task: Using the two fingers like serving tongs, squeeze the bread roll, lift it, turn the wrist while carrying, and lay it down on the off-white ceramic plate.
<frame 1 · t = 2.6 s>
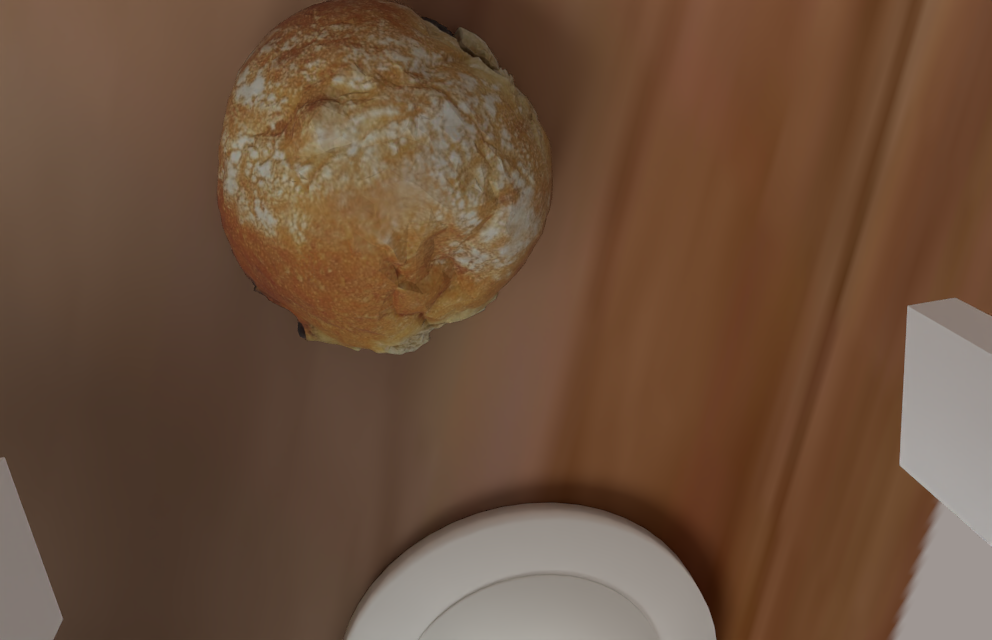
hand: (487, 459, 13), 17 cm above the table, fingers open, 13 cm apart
bread roll: (382, 175, 29), on the table
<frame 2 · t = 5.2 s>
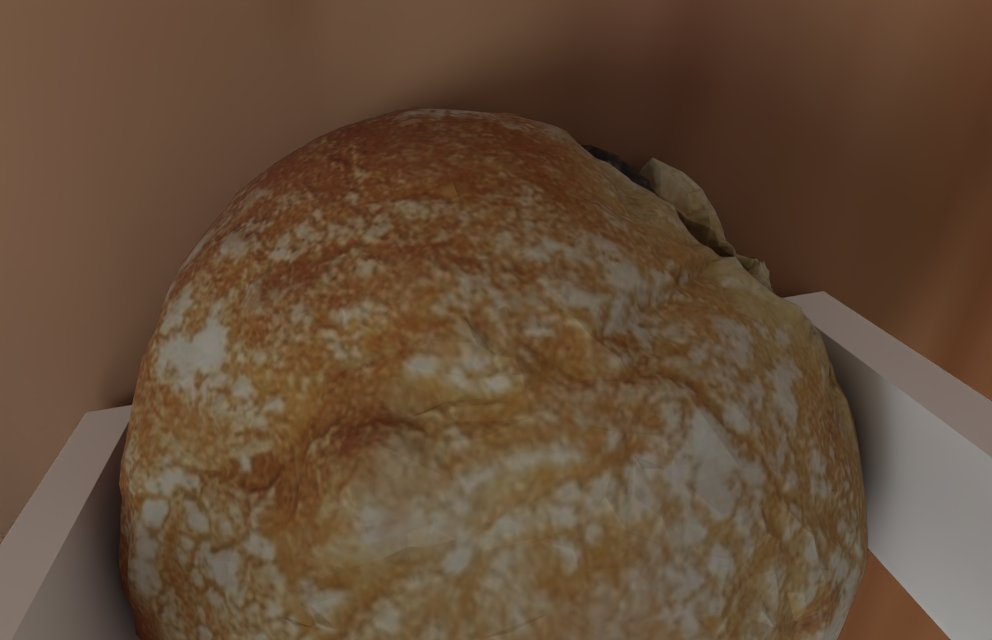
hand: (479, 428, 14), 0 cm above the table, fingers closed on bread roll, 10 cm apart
bread roll: (472, 432, 15), on the table, touching gripper
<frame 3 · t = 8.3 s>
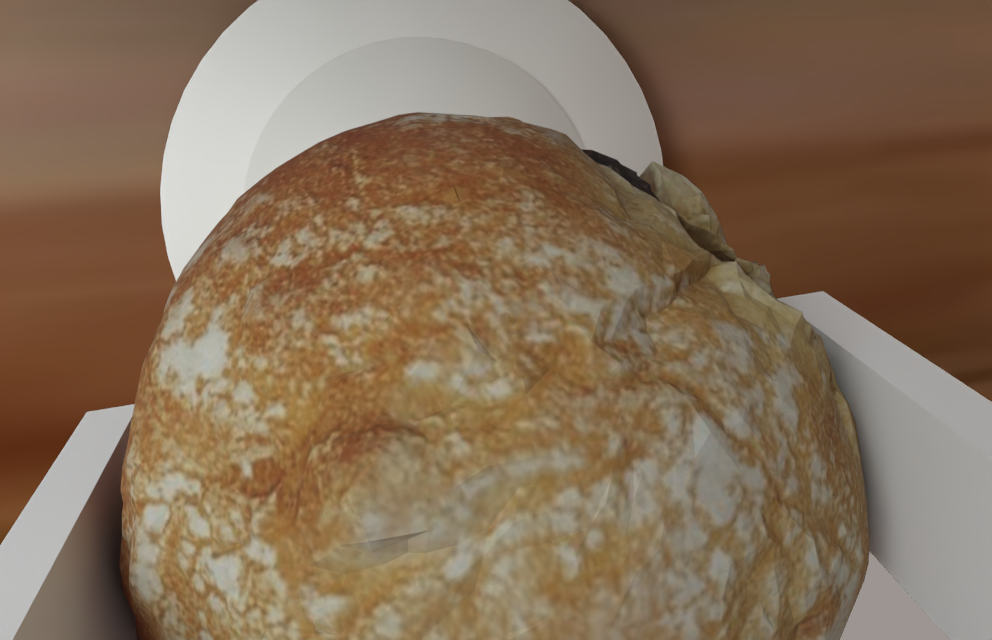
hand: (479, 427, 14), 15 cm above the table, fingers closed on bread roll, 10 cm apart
plate: (420, 209, 28), on the table
bread roll: (473, 436, 15), point 14 cm above the table, touching gripper
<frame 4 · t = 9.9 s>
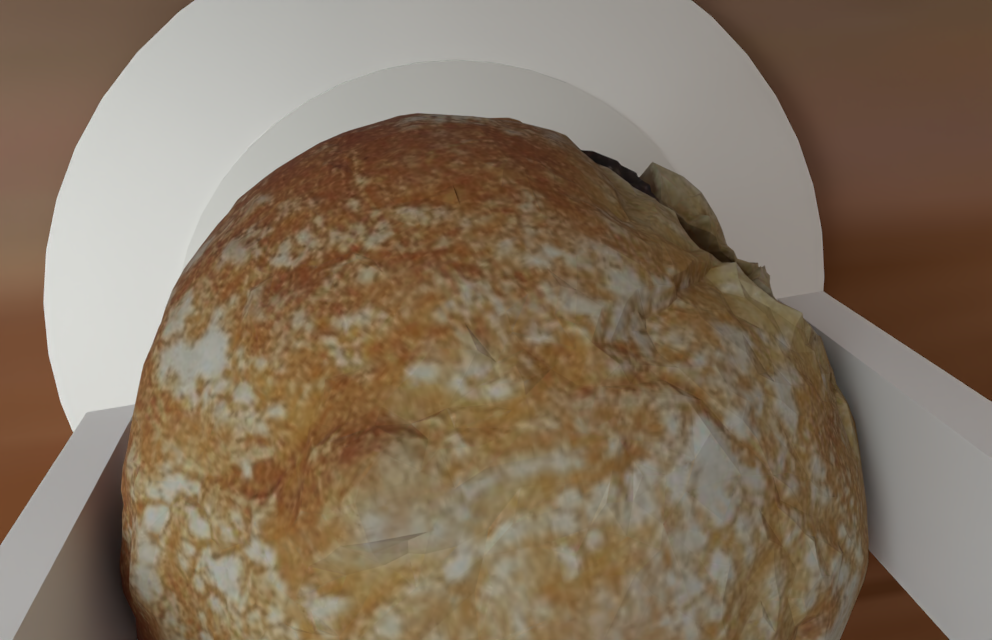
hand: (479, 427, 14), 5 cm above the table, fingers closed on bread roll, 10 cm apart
plate: (451, 316, 19), on the table
bread roll: (473, 436, 15), point 4 cm above the table, touching gripper
when the fingers open (4 cm above the table, at t = 11.2 s): bread roll drops 2 cm, resting on plate.
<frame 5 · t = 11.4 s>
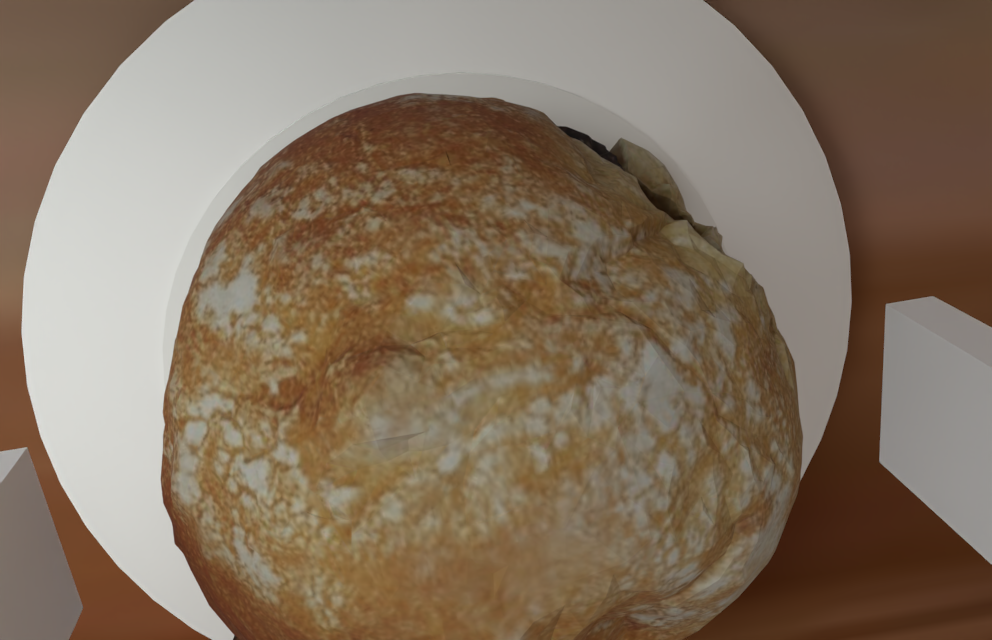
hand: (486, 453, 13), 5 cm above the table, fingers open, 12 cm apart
plate: (456, 342, 18), on the table
bread roll: (464, 383, 16), point 1 cm above the table, touching plate
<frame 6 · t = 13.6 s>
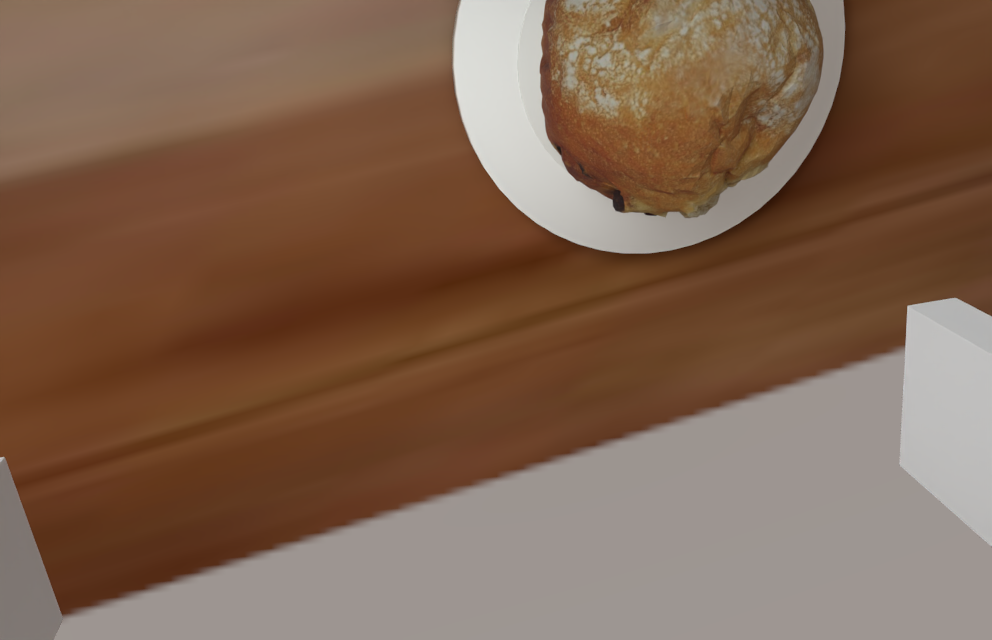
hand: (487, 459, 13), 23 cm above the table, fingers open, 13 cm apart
plate: (645, 58, 35), on the table
bread roll: (656, 69, 34), point 1 cm above the table, touching plate
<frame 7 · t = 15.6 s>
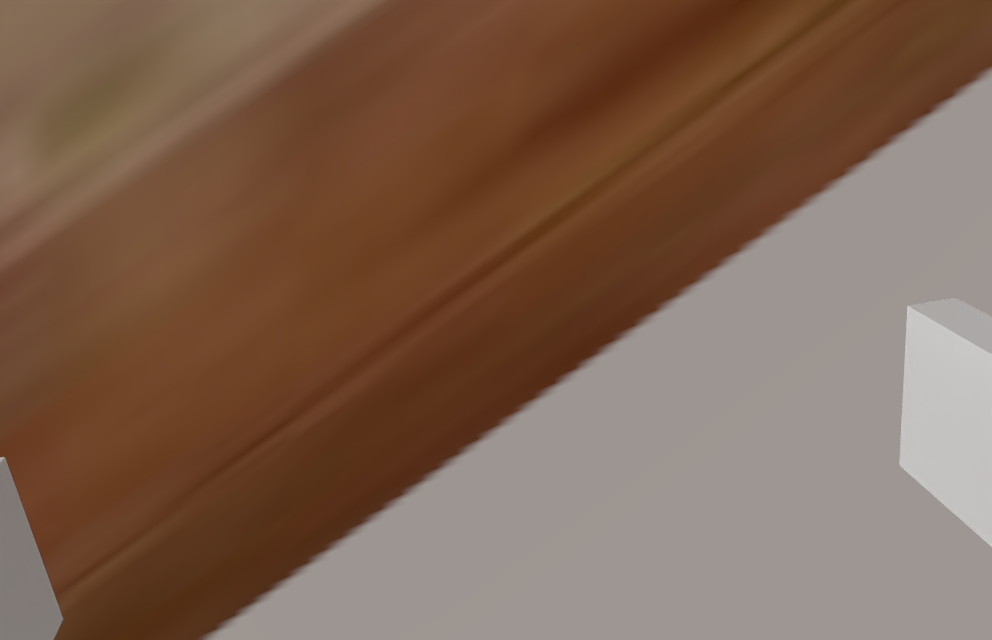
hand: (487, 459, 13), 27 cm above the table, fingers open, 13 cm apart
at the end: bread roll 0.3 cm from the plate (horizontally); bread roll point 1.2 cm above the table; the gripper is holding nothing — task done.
